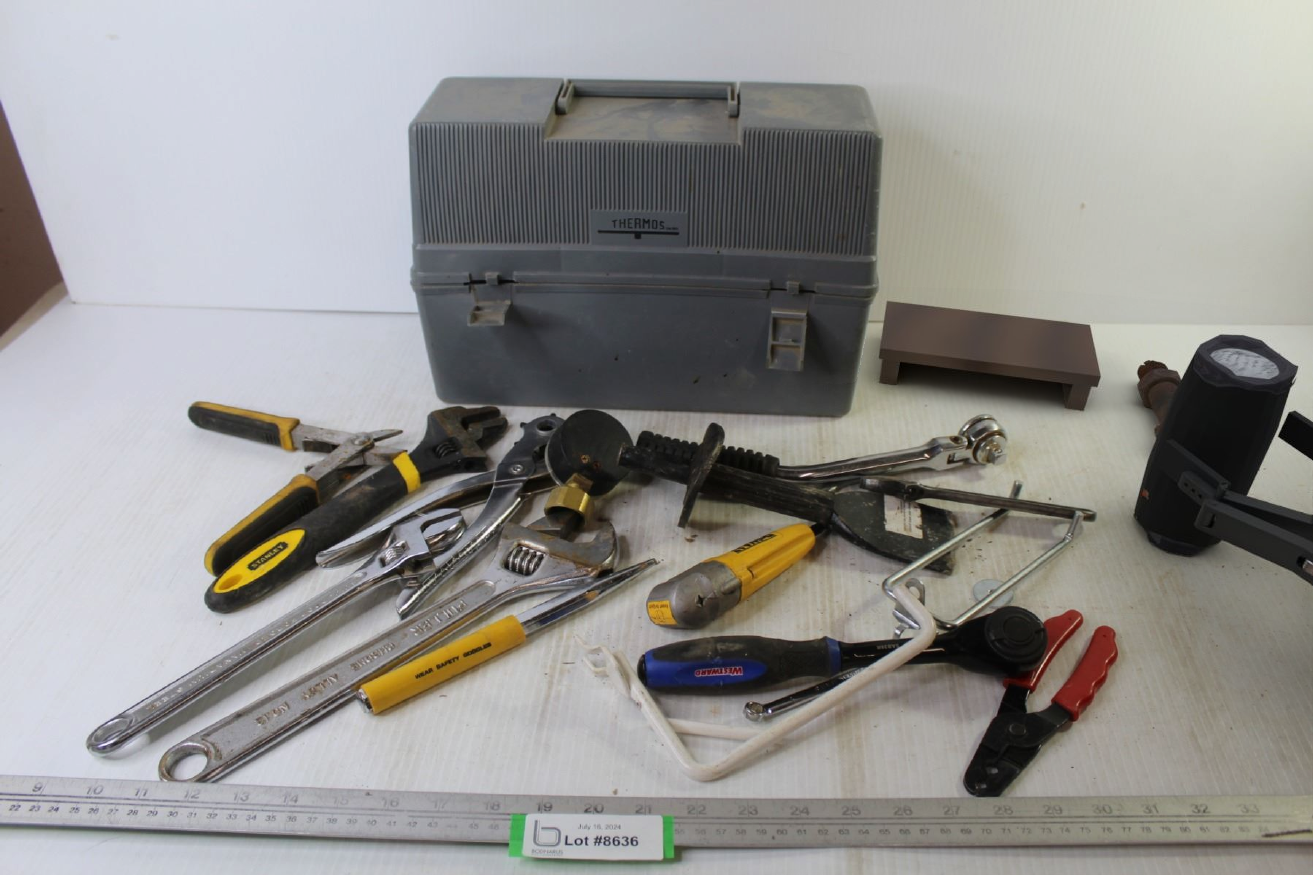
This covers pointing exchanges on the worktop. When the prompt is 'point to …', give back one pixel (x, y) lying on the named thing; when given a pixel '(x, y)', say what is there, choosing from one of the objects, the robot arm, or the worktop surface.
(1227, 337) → the portable speaker
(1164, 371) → the bolt
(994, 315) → the shelf
